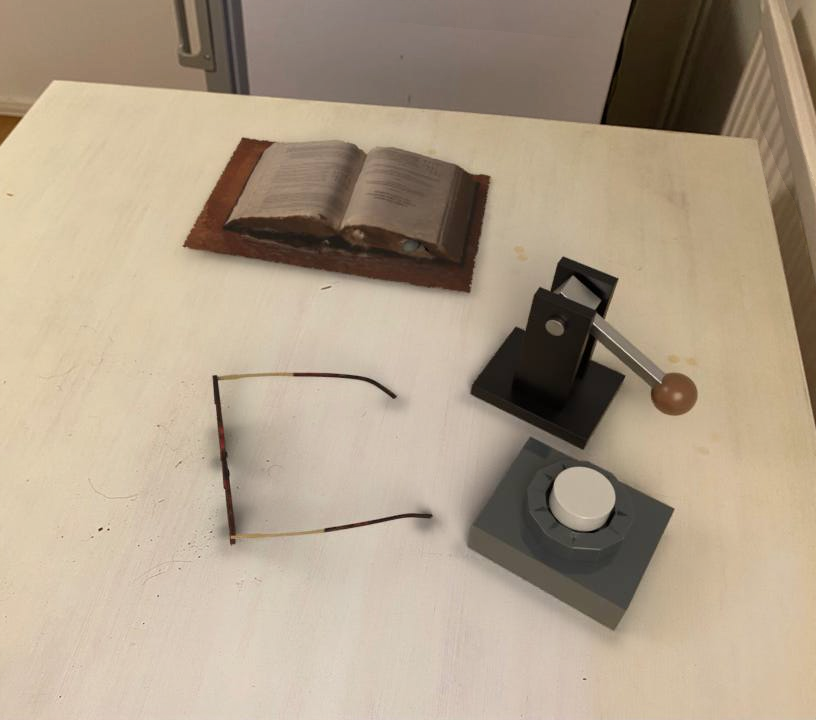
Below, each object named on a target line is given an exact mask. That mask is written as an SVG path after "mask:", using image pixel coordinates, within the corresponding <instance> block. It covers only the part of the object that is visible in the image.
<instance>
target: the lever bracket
mask: <svg viewBox="0 0 816 720" xmlns="http://www.w3.org/2000/svg"><path fill="white" fill-rule="evenodd" d="M571 276H574V277H576V278H577V279H578V280H579V281H580V282H581V283H582V284H584V285H585V286H586V287H587V288H588V289H589V290H590V291H591V292H593V293H594V294H595V295H596V296H597V297H598V298H599V299H601V302H600V303H599V305H598V306H597V308H596V309H595V310H594V309H592V308H589V307H587V306H585V305H582V304H580V303H577V302H575V301H573V300H570V299H568V298H566V297H563V296H561V295H558V294H556V293H554V291H555V290H556V289H557V288H558V287H560V286H561V285H562V284H563V283H564V282H565V281H567V280H568V279H569V278H570V277H571ZM618 283H619V277H616V276H614V275H611V274H609V273H607V272H605V271H604V272H603V271H602V270H599V269H596V268H594V267H591V266H589V265H587V264H584V263H581V262H578V261H576V260H574V259H571V258H569V257H566V256H564V255H563V256H562V257H561V258H560V259H559V261H557V263H556V267H555V270H554V274H553V278H552V282H551V286H550V290H549V289H547V288H545V287H542V286H539V287H538V289H537V290H536V291H535V292H534V294H533V297H532V301H531V304H530V309H529V314H528V318H527V321H526V326H525V329H523V328H522V327H521V328H520V327H518V326H515V327H514V328H513V329H512V331H511V332H510V333H509V335H507V337H506V338H505V340H504V341H503V343H502V344H501V345H500V347H499V348H498V349H497V350H496V352H495V353H494V354H493V356H492V357H491V359H490V360H489V361H488V362H487V364H486V365H485V366H484V368H483V369H482V371H481V372H480V373H479V375H478V376H477V377H476V379H475V380H474V381H473V383H471V389H470V395H471V396H473V397H475V398H477V399H479V400H481V401H483V402H485V403H487V404H489V405H491V406H493V407H496V408H497V409H500V410H501V411H503V412H506V413H507V414H509V415H511V416H513V417H516V418H517V419H520V420H521V421H523V422H526V423H527V424H530V425H531V426H534V427H536V428H538V429H540V430H541V431H544V432H545V433H548V434H550V435H552V436H554V437H556V438H558V439H560V440H562V441H564V442H566V443H568V444H571V445H572V446H574V447H576V448H579V449H581V450H583V451H584V450H585V449H586V447H587V446H588V444H589V442H590V440H591V438H592V437H593V435H594V433H595V432H596V430H597V428H598V427H599V425H600V423H601V422H602V421H603V418H604V417H605V415H606V414H607V412H608V410H609V408H610V406H611V404H612V403H613V401H614V400H615V398H616V396H617V395H618V393H619V391H620V389H621V388H622V386H623V384H624V381H625V379H626V376H627V375H626V374H624V373H622V372H619V371H617V370H615V369H613V368H610V367H608V366H606V365H604V364H601V363H600V362H597V361H595V360H593V359H592V358H593V355H594V352H595V349H596V347H597V343H598V342H599V341H598V340H597V339H596V338H595V337H594V336H592V335H591V334H590V331H591V328H592V325H593V322H594V319H595V316H596V313H597V314H599V315H600V316H601V317H602V318H603V319H604V320H605V321H606V317H607V314H608V312H609V308H610V305H611V304H612V300H613V296H614V293H615V291H616V288H617V285H618Z"/></svg>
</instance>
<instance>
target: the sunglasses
mask: <svg viewBox="0 0 816 720" xmlns="http://www.w3.org/2000/svg"><path fill="white" fill-rule="evenodd" d="M211 376H212V388H213V402H214V405H215V414H216V415H215V417H216V427H217V435H218V436H217V437H218V446H219V459H220V460H219V461H220V462H221V473H222V486H223V487H222V488H223V490H224V496H225V506H226V507H225V509H226V516H227V527H228V536H229V545H230V547H233V545H236V543H237V542H236V541H237V539H238V540H239V539H260V538H278V537H280V538H281V537H291V536H304V535H306V536H307V535H315V534H322V533H324V534H325V533H329V532H330V533H331V532H337V531H343V530H349V529H356V528H360V527H361V528H362V527H365V526H370V525H377V524H381V523H386V522H390V521H396V520H401V519H409V518H410V519H411V518H413V519H415V518H416V519H427V520H428V519H429V520H430V519H432V518H433V517H434V515H433V514H432V513H418V512H417V513H416V512H409V513H400V514H395V515H391V516H386V517H381V518H377V519H372V520H371V519H370V520H365V521H360V522H354V523H350V524H349V523H348V524H343V525H337V526H331V527H330V526H329V527H324V528H320V529H313V530H306V531H295V532H294V531H293V532H282V533H259V532H258V533H244V534H242V533H241V534H240V533H239V534H237V532H236V524H235V515H234V514H235V513H234V505H233V498H232V497H233V496H232V495H233V494H232V488H231V482H230V481H231V480H230V477H231V476H230V475H231V474H230V469H229V465H228V457H229V456H228V451H227V450H226V441H225V431H224V421H223V412H222V403H221V394H220V386H219V381H220V382H221V381H230V380H231V381H232V380H238V379H245V378H257V377H259V378H261V377H294V378H295V377H299V378H300V377H301V378H313V377H314V378H332V379H333V378H334V379H347V380H357V381H361V382H366V383H368V384H371V385H373V386H374V387H376V388H378V389H379V390H381V391H382V392H383V393H385V394H386V395H388V396H389V397H390V398H391V399H393V400H395V399H397V397H398V395H396V394H395V393H394V392H393V391H391V390H390V389H388V388H387V387H386V386H384V385H383V384H381V383H380V382H378V381H376V380H374V379H373V378H370V377H367V376H362V375H357V374H348V373H336V372H335V373H334V372H260V373H259V372H257V373H256V372H255V373H241V374H240V373H239V374H237V373H235V374H234V373H233V374H226V375H219V376H218V375H217V374H213V375H211Z"/></svg>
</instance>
